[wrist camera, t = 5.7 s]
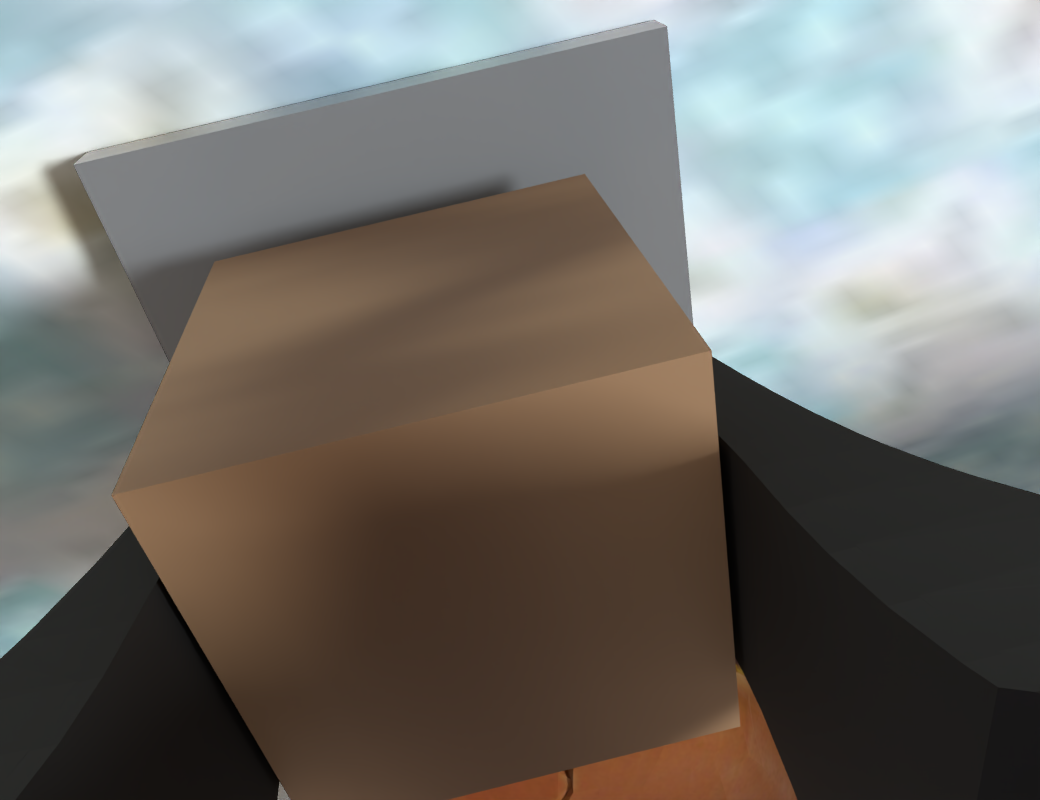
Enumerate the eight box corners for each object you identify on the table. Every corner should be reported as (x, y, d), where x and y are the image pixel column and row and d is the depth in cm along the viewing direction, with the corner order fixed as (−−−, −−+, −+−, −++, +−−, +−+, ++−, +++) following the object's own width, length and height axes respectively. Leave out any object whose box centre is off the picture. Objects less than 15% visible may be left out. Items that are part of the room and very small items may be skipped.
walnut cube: (584, 173, 11) (711, 351, 7) (629, 468, 14) (740, 726, 10) (214, 261, 11) (110, 495, 7) (332, 541, 14) (311, 833, 9)
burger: (671, 829, 23) (732, 1029, 19) (318, 830, 20) (302, 1055, 16) (813, 550, 18) (935, 738, 14) (372, 512, 16) (368, 722, 12)
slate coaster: (654, 20, 12) (666, 26, 11) (697, 469, 16) (707, 488, 15) (87, 152, 11) (73, 164, 11) (284, 569, 16) (281, 593, 15)
